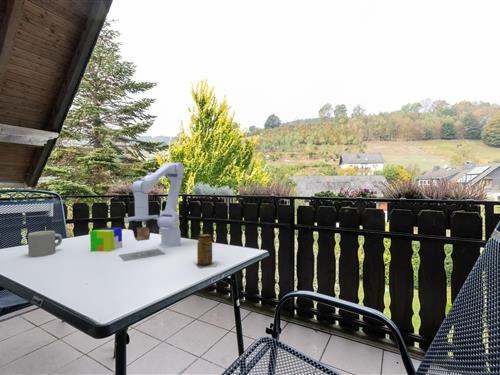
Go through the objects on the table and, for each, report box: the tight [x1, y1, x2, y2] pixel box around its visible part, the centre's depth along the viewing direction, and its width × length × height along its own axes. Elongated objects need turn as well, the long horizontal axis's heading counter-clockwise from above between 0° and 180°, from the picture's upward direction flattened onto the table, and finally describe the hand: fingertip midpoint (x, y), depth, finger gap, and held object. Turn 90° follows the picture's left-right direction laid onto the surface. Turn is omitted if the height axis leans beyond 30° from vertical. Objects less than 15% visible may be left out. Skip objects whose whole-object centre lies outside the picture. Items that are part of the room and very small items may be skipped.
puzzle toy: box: [89, 227, 123, 253], centre depth 134 cm, size 10×10×10 cm
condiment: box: [193, 233, 217, 269], centre depth 111 cm, size 7×8×12 cm
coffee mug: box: [27, 230, 63, 258], centre depth 127 cm, size 13×10×10 cm
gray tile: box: [118, 248, 166, 262], centre depth 124 cm, size 18×12×1 cm, turn 127°
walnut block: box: [134, 226, 150, 242], centre depth 123 cm, size 5×5×5 cm
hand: (142, 236), depth 123 cm, fingers closed on walnut block, 5 cm apart
